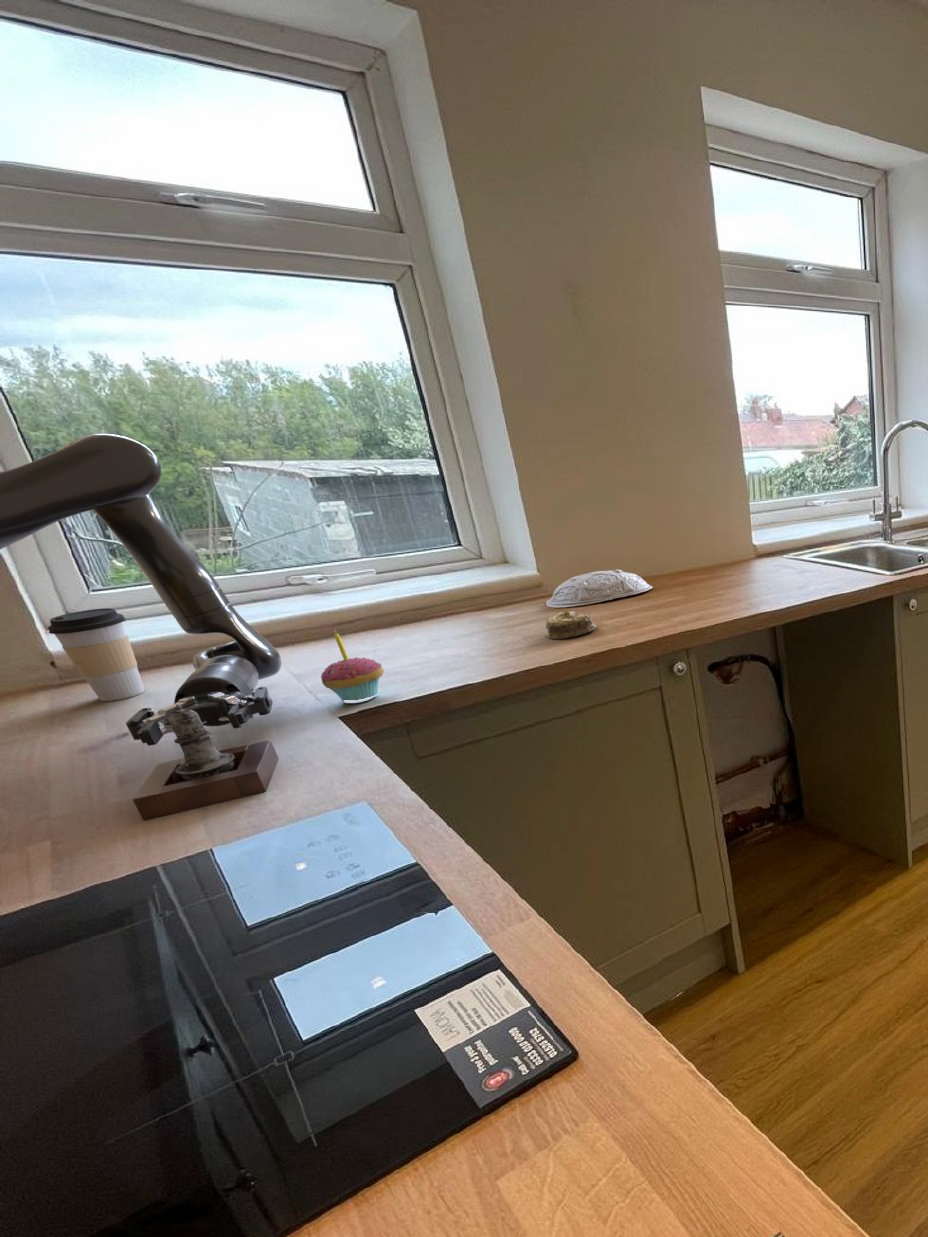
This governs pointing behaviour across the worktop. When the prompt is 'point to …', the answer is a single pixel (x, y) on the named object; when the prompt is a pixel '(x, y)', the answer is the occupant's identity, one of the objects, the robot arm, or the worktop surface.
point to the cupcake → (352, 676)
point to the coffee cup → (100, 651)
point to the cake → (568, 625)
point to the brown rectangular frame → (206, 782)
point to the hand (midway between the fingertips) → (192, 729)
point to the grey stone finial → (197, 747)
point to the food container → (596, 588)
